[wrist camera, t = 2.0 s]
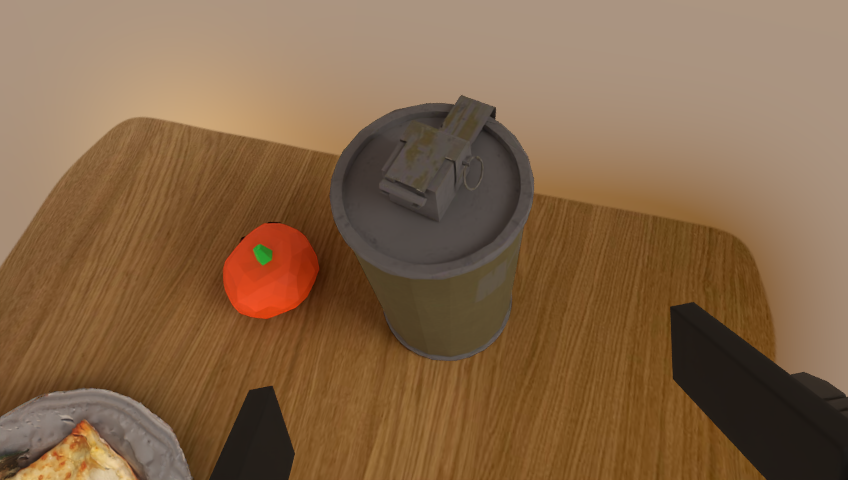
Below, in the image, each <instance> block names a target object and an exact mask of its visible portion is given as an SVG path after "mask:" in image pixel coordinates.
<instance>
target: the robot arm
mask: <svg viewBox="0 0 848 480" xmlns="http://www.w3.org/2000/svg"><path fill="white" fill-rule="evenodd" d="M670 312H671V339H672V367H673V379H674V380H675V382H676V383H677V384H678V385H679V386H680V387H681V388H682V389H683V390H684V391H685V392H686V393H687V394H688V396H689V397H690V398H691V399H692V400H693V401H694V402H695V403H696V404H697V405H698V406H699V407H700V408H701V410H702V411H703V412H704V413H705V414H706V415H707V416H708V417H709V418H710V419H711V420H712V421H713V422H714V424H715V425H716V426H717V427H718V428H719V429H720V430H721V431H722V432H723V433H724V434H725V435H726V436H727V438H728V439H729V440H730V441H731V442H732V443H733V444H734V445H735V446H736V447H737V448H738V449H739V450H740V452H741V453H742V454H743V455H744V456H745V457H746V458H747V459H748V460H749V461H750V462H751V463H752V464H753V466H754V467H755V468H756V469H757V470H758V471H759V472H760V473H761V474H762V475H763V476H764V477H765V478H766V479H767V480H848V397H846V395H845V394H844V393H843V392H841V391H840V390H839V389H837V388H836V387H834V386H833V385H831V384H830V383H829V382H827V381H825V380H822V379H820V378H817V377H815V376H812V375H810V374H808V373H805V372H802V373H796V374H791V375H790V374H788V373H787V372H786V371H785V370H783V369H782V368H781V367H779V366H778V365H777V364H775V363H774V362H773V361H771V360H770V359H769V358H767V357H766V356H765V355H763V354H762V353H761V352H759V351H758V350H757V349H755V348H754V347H753V346H751V345H750V344H749V343H747V342H746V341H745V340H743V339H742V338H741V337H739V336H738V335H737V334H735V333H734V332H733V331H731V330H730V329H729V328H727V327H726V326H725V325H723V324H722V323H721V322H719V321H718V320H717V319H715V318H714V317H713V316H711V315H710V314H709V313H707V312H706V311H705V310H703V309H702V308H701V307H699V306H698V305H697V304H695V303H694V302H692V303H687V304H682V305H677V306H672V307H670ZM294 455H295V453H294V450H293V447H292V444H291V440H290V437H289V434H288V431H287V428H286V425H285V422H284V419H283V416H282V413H281V410H280V407H279V404H278V401H277V398H276V395H275V392H274V389H273V386H268V387H263V388H258V389H253V390H249V392H248V394H247V396H246V399H245V401H244V403H243V405H242V407H241V410H240V412H239V414H238V416H237V419H236V421H235V423H234V425H233V428H232V430H231V432H230V434H229V436H228V439H227V441H226V443H225V445H224V448H223V450H222V452H221V454H220V457H219V459H218V461H217V463H216V465H215V468H214V470H213V472H212V474H211V477H210V479H209V480H288V479H289V475H290V471H291V467H292V463H293V459H294Z"/></svg>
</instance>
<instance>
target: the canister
mask: <svg viewBox="0 0 848 480" xmlns="http://www.w3.org/2000/svg"><path fill="white" fill-rule="evenodd" d="M495 116H496V107H493V106H490V105H488V104H485V103H481V102H479V101H476V100H473V99H471V98H468V97H465V96H462V95H461V96H460V97H459V99H458V100H457V102H456V103H455V105H454V104H445V103H428V104H427V103H426V104H422V105H417V106H412V107H407V108H402V109H398V110H394V111H392V112H390V113H388V114H386V115H384V116H383V117H381V118H379V119H377V120H375V121H374V122H373V123H371V124H370V125H368V126H367V127H365V128H364V129H362V130H361V131H360V132H359V133H358V134H357V135H356V137H355V138H354V139H353V140H352V141H351V142H350V144H349V145H348V146H347V147H346V148H345V149H344V151H343V152H342V154H341V156H340V158H339V160H338V162H337V164H336V167H335V170H334V173H333V176H332V179H331V188H330V202H331V209H332V214H333V218H334V221H335V223H336V226H337V228H338V230H339V232H340V234H341V235H342V237H343V238H344V240H345V242H346V243H347V244H348V245H349V246H350V247H351V248H352V249H353V251H354V253H355V255H356V257H357V259H358V261H359V263H360V265H361V267H362V269H363V270H364V272H365V274H366V276H367V278H368V280H369V282H370V284H371V286H372V288H373V290H374V292H375V294H376V296H377V298H378V300H379V302H380V304H381V306H382V308H383V310H384V315H385V318H386V321H387V323H388V325H389V327H390V329H391V331H392V332H393V334H394V335H395V336H396V338H397V339H398V340H399V341H400V342H401V343H402V344H403V345H404V346H405V347H407V348H408V349H410V350H411V351H413V352H415V353H417V354H419V355H421V356H424V357H427V358H429V359H432V360H446V361H456V360H460V359H464V358H468V357H471V356H473V355H475V354H477V353H479V352H481V351H483V350H485V349H486V348H487V347H488V346H489V345H491V344H492V343H493V342H494V341H495V340H496V339H497V338H498V336H499V335H500V334H501V333H502V331H503V329H504V327H505V325H506V323H507V321H508V319H509V316H510V311H511V306H512V288H513V282H514V277H515V271H516V266H517V261H518V255H519V250H520V244H521V239H522V234H523V228H524V224H525V223H526V221H527V219H528V216H529V213H530V209H531V206H532V203H533V194H534V177H533V174H532V170H531V166H530V162H529V159H528V156H527V154H526V153H525V151H524V149H523V148H522V146H521V145H520V143H519V141H518V140H517V138H516V137H515V136H514V135H513V134H512V133H511V132H510V131H509V130H508V129H507V128H506V127H505V126H503V125H502V124H501V123H499V122H498V121H496V120H495Z"/></svg>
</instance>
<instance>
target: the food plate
mask: <svg viewBox="0 0 848 480" xmlns="http://www.w3.org/2000/svg"><path fill="white" fill-rule="evenodd" d="M49 392H50V391H49ZM42 395H43V394H42ZM40 396H41V395H40ZM38 397H39V396H38ZM36 398H37V397H35V398H33V399H31V400H30V401H28V402H26V403H24V404H22V405H20V406H18V407H17V408H18V409H17V408H15V409H13V410H11V411H10V412H8V413H6V414H4V415H3V416H1V417H0V480H192V477H191V472H190V470H189V468H188V467H189V465H188V464H187V462H186V461H187V460H186V459H185V458H184V453H183V451H182V449H181V448H180V447H179V446H180V445H179V441H177V437H176V435H175V433H174V431H173V429H172V428H171V427H170V425H168V424H167V423H166V422H164V421H162V420H160V419H161V418H160V417H157V415H155V414H154V413H153V414H151V411H149V409H148V408H146V407H144V405H141V403H138V402H137V401H134V400H132V399H131V398H130V397H126V396H123V394H118V393H117V392H114V393H113V392H112V391H111V390H108V391H107V389H106V390H103V389H96V388H94V389H93V388H90V389H85V388H81V389H77V390H71V391H54V392H53V393H52V392H51V393H49V394H47V395H44V396H43V397H41V398H39V399H37V400H35V402H34V401H32V400H34V399H36ZM31 401H32V402H31ZM29 402H30V403H29ZM27 403H28V404H27ZM25 404H26V405H25ZM23 405H24V406H23ZM21 406H23V407H21ZM19 407H20V408H19ZM16 409H17V410H16ZM14 410H15V411H14ZM13 411H14V412H13ZM11 412H12V413H11ZM9 413H10V414H9ZM6 415H7V416H6ZM4 416H5V417H4ZM193 480H194V479H193Z"/></svg>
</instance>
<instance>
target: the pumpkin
mask: <svg viewBox="0 0 848 480" xmlns="http://www.w3.org/2000/svg"><path fill="white" fill-rule="evenodd" d="M278 223H281V222H268V223H264V224H262V225H261V226H259V227H257V228H256V229H254V230H253V231H252V232H250V233H249V234H248V235H247V236H245V237H242V238H241V241H240V243H239V244H238V246H237V247H236V248H235V249H234V250H233V252H232V253H231V254H230V255H229V257H228V258H227V259H226V261H225V264H224V268H223V282H224V287H225V291H226V293H227V295H228V297H229V299H230V301H231V303H232V305H233V307H234V308H235V309H236V310H237V311H238V312H239V313H240V314H243V315H246V316H249V317H254V318H264V319H268V318H271V317H273V316H276V315H279V314H281V313H284V312H286V311H289V310H292V309H294V308H296V307H297V306H298V305H299V304H300V303H301V302H302V301H304V300H305V299H306V298H307V296H308V294H309V292H310V290H311V288H312V286H313V284H314V282H315V279H316V277H317V274H318V271H319V264H318V259H317V255H316V254H315V252H314V250H313V248H312V246H311V244H310V243H309V241H308V239H307V238H306V236H305V235H304V234H302V233H301V232H300V231H298V230H297V229H294V228H292V227H289V226H287V225H285V224H278Z"/></svg>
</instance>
